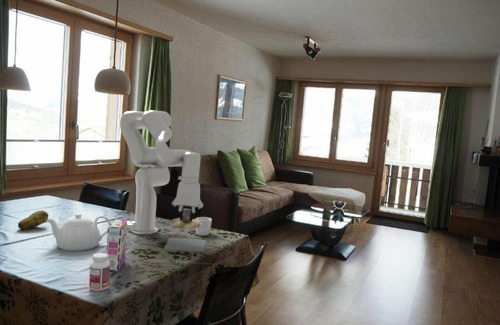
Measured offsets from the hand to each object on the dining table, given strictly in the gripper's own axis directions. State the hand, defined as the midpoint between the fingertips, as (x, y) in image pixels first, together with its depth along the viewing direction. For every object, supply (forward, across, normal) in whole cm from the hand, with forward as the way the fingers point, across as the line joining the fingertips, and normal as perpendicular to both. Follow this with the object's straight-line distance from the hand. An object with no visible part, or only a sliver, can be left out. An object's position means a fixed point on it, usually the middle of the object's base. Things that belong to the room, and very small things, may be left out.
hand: (186, 219), depth 187 cm
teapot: (+13, -43, -10) cm, 46 cm away
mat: (+12, +1, -1) cm, 12 cm away
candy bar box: (+12, -22, -31) cm, 40 cm away
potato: (+14, -71, +10) cm, 73 cm away
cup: (+12, +7, +17) cm, 22 cm away
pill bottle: (+11, -22, -51) cm, 56 cm away
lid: (+2, 0, 0) cm, 2 cm away
